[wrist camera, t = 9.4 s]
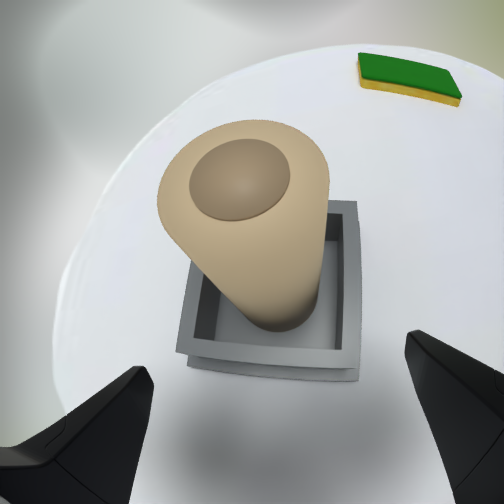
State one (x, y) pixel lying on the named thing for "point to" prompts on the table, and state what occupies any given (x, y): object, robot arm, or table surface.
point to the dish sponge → (407, 78)
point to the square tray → (293, 341)
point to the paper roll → (252, 216)
